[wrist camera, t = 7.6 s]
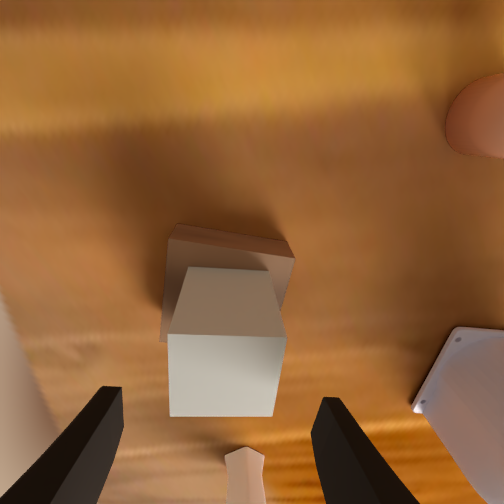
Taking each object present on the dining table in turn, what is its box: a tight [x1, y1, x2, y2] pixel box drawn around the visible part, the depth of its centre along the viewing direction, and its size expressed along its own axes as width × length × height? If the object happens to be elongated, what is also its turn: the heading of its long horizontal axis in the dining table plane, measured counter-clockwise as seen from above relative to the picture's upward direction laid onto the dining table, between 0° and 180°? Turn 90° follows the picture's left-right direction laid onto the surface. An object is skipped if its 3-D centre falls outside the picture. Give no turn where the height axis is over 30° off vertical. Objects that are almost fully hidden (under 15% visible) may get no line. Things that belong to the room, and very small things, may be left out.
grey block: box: [168, 267, 287, 417], centre depth 14 cm, size 4×4×6 cm
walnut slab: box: [159, 223, 295, 343], centre depth 18 cm, size 7×7×3 cm
